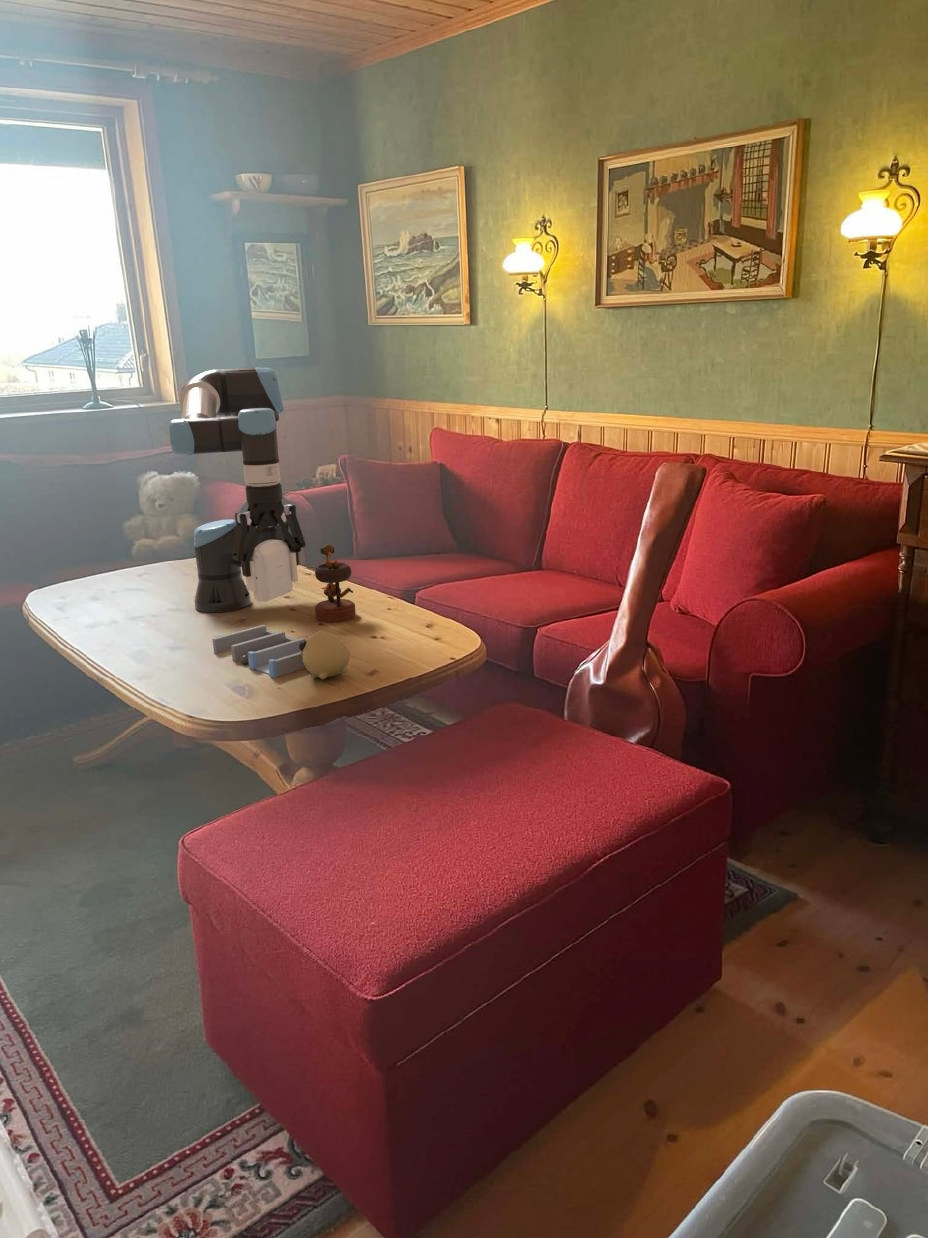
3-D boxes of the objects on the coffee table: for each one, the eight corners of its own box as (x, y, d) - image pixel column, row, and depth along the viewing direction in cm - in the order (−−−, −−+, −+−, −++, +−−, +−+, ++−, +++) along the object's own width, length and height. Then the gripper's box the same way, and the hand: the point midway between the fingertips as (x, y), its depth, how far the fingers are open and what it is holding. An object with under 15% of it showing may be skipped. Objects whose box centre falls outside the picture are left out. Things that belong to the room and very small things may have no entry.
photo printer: (268, 602, 198) (262, 545, 195) (251, 601, 200) (245, 544, 197) (295, 591, 207) (291, 536, 204) (280, 590, 209) (274, 536, 206)
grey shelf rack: (211, 653, 220) (209, 637, 219) (268, 637, 230) (267, 622, 229) (273, 678, 202) (272, 661, 201) (332, 659, 212) (331, 643, 211)
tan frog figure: (334, 664, 209) (331, 619, 206) (359, 679, 200) (355, 632, 197) (294, 673, 204) (289, 627, 201) (316, 689, 195) (312, 641, 191)
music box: (303, 615, 247) (303, 541, 242) (340, 611, 254) (340, 538, 249) (332, 628, 235) (332, 550, 231) (369, 623, 242) (370, 546, 237)
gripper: (225, 492, 187) (237, 599, 193) (317, 478, 202) (325, 578, 208) (206, 489, 192) (218, 593, 198) (296, 475, 207) (305, 573, 213)
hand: (273, 585), depth 203 cm, fingers closed on photo printer, 10 cm apart
